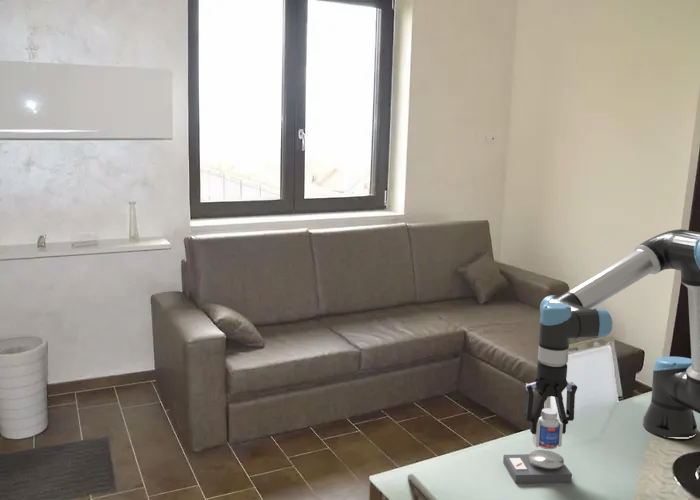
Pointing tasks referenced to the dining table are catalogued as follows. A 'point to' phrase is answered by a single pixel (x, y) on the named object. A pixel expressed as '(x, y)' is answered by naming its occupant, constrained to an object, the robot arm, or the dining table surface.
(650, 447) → the dining table surface
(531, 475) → the scale base
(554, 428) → the pill bottle
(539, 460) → the pan
